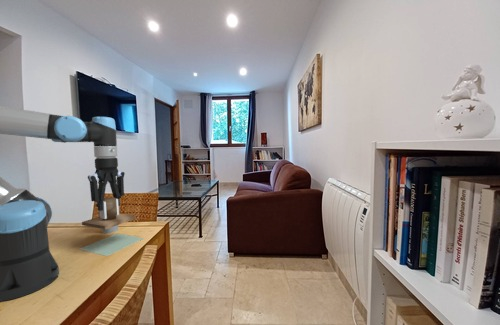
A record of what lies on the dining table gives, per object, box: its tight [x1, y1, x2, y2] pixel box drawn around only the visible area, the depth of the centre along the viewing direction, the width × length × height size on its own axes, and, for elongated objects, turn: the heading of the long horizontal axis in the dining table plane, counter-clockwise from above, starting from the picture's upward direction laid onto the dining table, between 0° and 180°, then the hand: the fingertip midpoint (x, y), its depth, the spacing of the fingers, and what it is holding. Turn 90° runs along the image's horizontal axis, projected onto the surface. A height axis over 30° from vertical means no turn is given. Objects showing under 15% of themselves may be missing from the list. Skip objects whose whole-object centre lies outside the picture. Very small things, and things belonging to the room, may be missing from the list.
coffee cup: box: [95, 203, 120, 234], centre depth 103 cm, size 9×9×15 cm
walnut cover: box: [81, 197, 137, 230], centre depth 89 cm, size 13×13×9 cm
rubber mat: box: [79, 233, 145, 257], centre depth 90 cm, size 16×16×1 cm
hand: (109, 216), depth 89 cm, fingers closed on walnut cover, 4 cm apart
